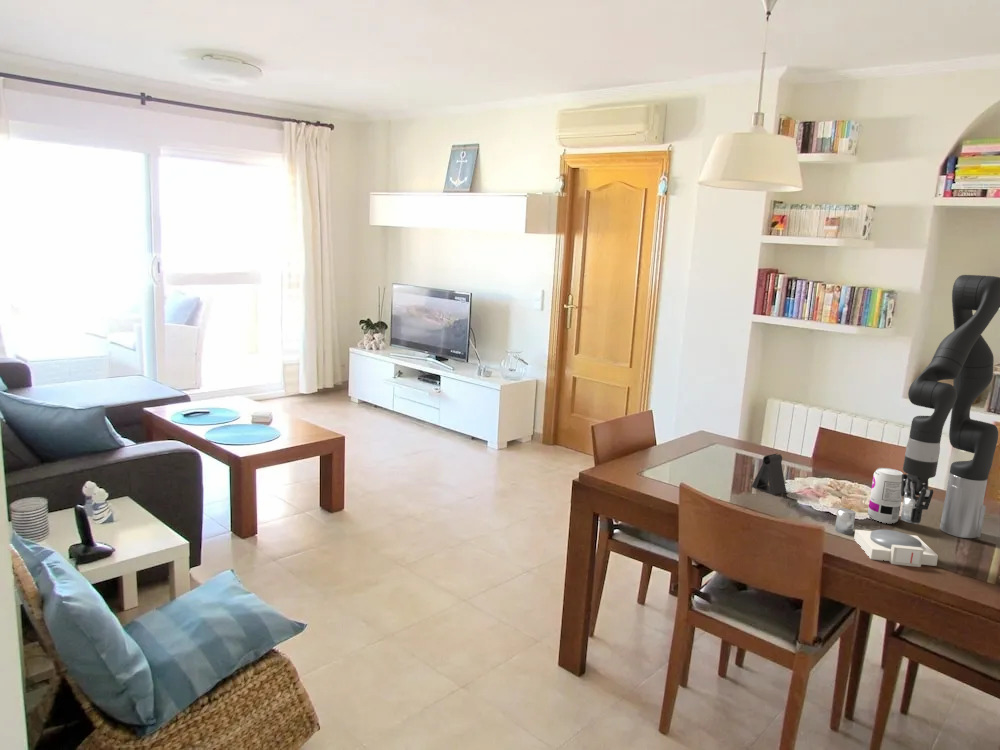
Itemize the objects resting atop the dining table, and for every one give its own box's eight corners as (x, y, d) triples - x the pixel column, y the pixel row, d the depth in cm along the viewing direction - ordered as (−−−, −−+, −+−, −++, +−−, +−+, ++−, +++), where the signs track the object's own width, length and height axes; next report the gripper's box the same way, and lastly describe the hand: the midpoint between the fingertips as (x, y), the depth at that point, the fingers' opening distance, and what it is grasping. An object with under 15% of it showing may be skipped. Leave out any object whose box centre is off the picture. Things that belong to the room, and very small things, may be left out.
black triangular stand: (751, 487, 241) (755, 452, 238) (762, 484, 244) (767, 450, 242) (774, 495, 233) (779, 459, 231) (786, 492, 237) (790, 457, 234)
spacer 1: (849, 528, 209) (852, 509, 207) (854, 535, 204) (858, 515, 203) (832, 527, 209) (835, 507, 208) (837, 533, 205) (840, 513, 204)
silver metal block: (916, 518, 194) (919, 496, 192) (923, 524, 189) (927, 502, 188) (897, 516, 194) (901, 494, 193) (904, 522, 190) (908, 500, 188)
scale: (915, 545, 199) (917, 529, 198) (940, 569, 184) (943, 552, 184) (853, 539, 201) (856, 523, 200) (873, 562, 186) (876, 545, 186)
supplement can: (863, 518, 217) (870, 470, 214) (872, 512, 223) (880, 465, 220) (892, 526, 212) (900, 477, 209) (901, 520, 217) (909, 472, 215)
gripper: (949, 466, 181) (938, 530, 184) (925, 450, 195) (914, 510, 198) (917, 463, 182) (906, 527, 185) (895, 447, 196) (885, 507, 199)
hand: (911, 518), depth 191 cm, fingers closed on silver metal block, 4 cm apart
